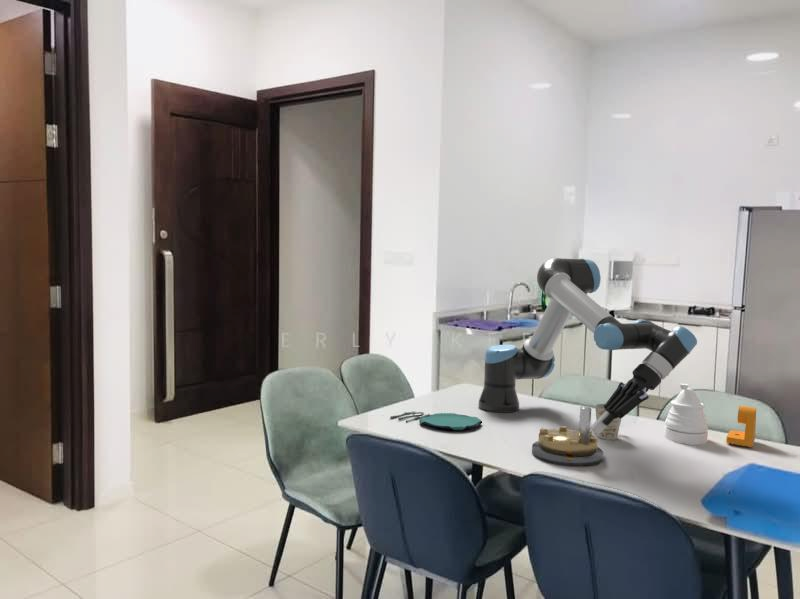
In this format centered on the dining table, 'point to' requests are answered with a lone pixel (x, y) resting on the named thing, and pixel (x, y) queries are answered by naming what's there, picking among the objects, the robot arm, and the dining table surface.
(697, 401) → the honey pot
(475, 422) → the cutlery set
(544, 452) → the disc
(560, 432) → the round peg stand
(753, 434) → the bracket
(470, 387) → the dining table surface
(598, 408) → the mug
